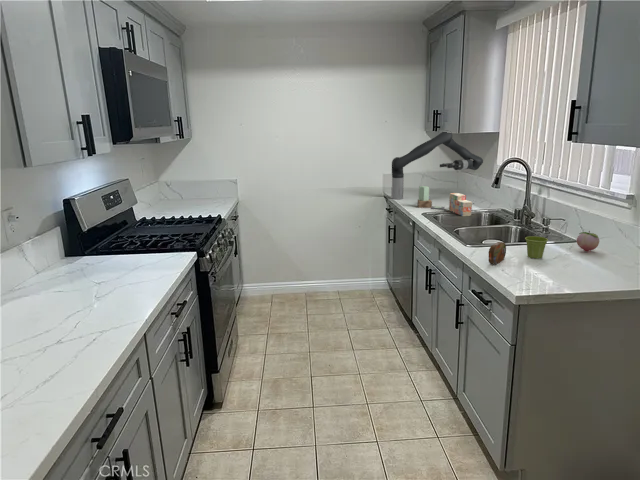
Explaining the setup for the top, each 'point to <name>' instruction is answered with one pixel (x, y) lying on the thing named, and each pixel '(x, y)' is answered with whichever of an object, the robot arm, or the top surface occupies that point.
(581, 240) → the decorative fruit
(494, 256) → the tin
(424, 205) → the walnut plinth
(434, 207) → the swatch card
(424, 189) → the sage block
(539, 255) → the plant pot
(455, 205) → the stack of blocks
